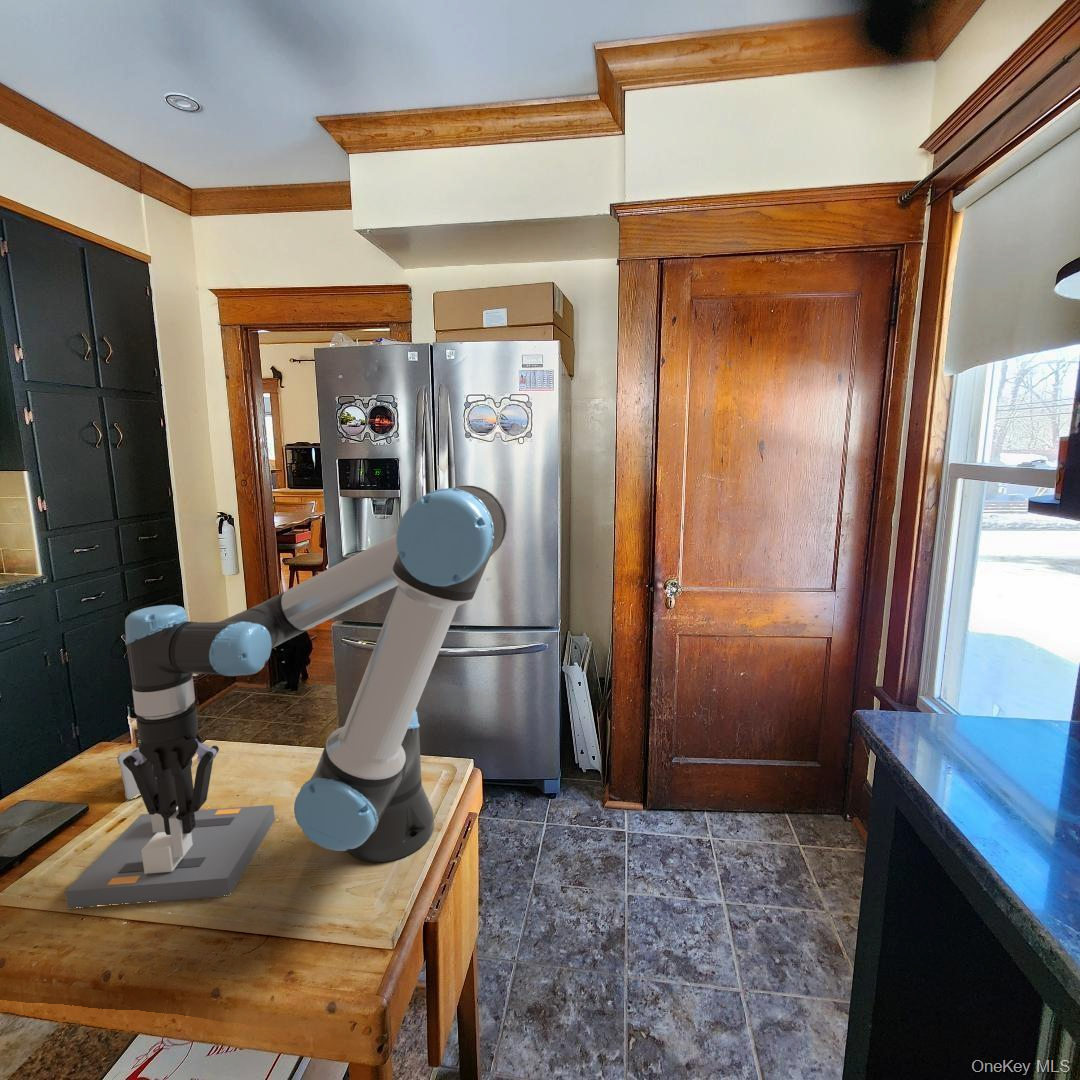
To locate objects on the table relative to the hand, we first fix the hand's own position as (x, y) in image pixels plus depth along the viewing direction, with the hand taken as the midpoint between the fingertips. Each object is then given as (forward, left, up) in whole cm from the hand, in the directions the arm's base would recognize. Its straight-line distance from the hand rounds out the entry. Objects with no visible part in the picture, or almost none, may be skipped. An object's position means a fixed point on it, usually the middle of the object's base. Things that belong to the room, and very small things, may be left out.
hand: (183, 850), depth 87 cm
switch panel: (+3, -5, -5) cm, 8 cm away
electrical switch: (+22, -28, -5) cm, 36 cm away
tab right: (+7, -10, -2) cm, 12 cm away
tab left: (+3, 0, -2) cm, 3 cm away
